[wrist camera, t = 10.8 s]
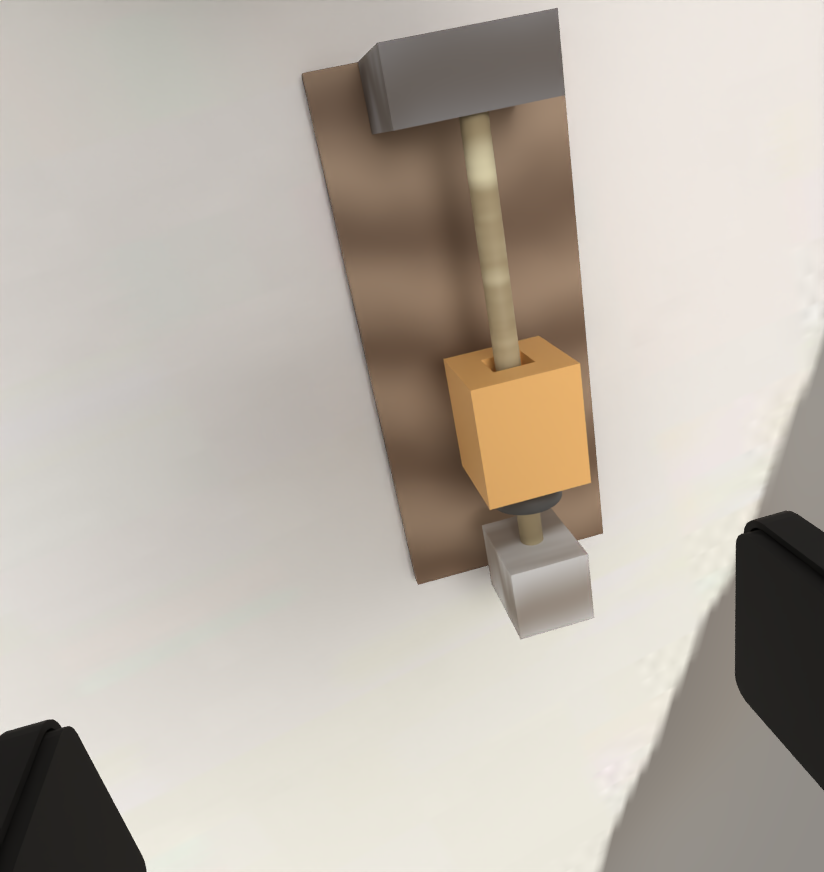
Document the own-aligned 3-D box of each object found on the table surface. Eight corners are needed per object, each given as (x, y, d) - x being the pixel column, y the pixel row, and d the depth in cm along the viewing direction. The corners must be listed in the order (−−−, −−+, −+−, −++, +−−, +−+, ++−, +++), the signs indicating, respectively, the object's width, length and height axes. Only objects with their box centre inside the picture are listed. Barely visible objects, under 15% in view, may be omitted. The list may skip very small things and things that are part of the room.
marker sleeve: (443, 359, 34) (470, 390, 30) (539, 335, 35) (579, 363, 30) (462, 465, 37) (490, 509, 32) (551, 442, 37) (591, 482, 33)
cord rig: (301, 75, 31) (313, 50, 24) (550, 26, 33) (638, -13, 25) (414, 575, 43) (447, 668, 35) (595, 525, 44) (666, 604, 36)
